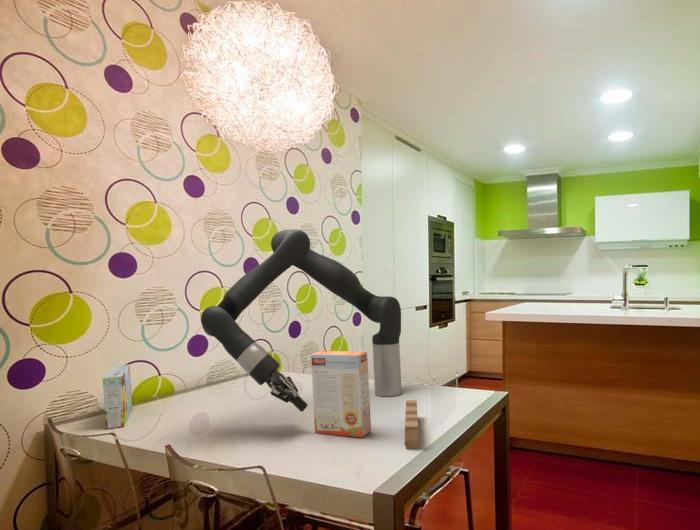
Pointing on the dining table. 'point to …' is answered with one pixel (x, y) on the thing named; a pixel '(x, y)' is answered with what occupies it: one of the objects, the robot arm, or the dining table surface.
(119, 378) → the snack box
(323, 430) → the cracker box
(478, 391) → the dining table surface
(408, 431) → the notched wooden bar
